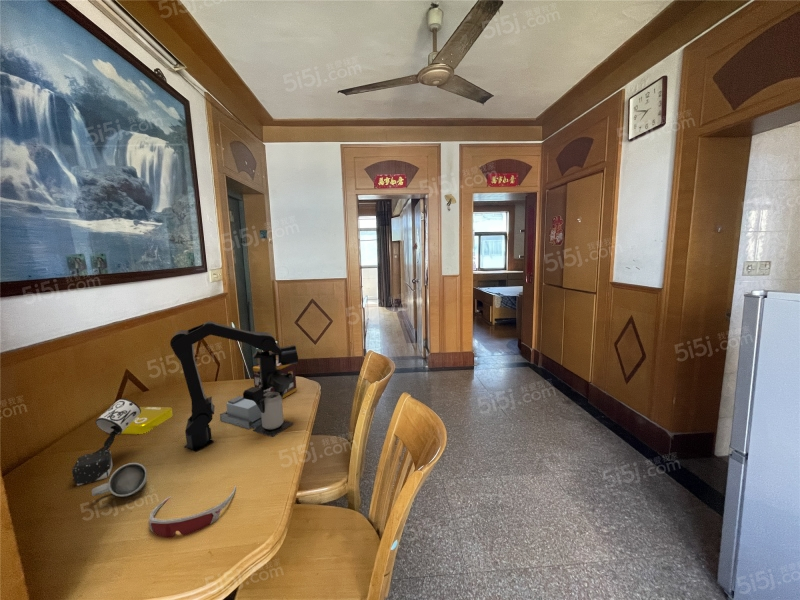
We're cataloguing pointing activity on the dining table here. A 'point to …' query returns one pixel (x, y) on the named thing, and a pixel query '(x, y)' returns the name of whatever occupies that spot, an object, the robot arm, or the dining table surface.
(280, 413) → the can
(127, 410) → the table lamp
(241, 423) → the base
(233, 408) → the grey stepped machine block
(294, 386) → the supplement box
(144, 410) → the element tile
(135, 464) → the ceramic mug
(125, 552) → the dining table surface
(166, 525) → the sunglasses
